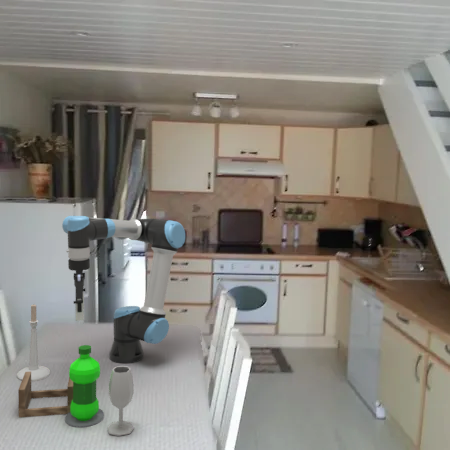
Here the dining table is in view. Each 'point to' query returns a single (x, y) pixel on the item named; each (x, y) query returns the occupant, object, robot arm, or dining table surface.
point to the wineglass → (121, 398)
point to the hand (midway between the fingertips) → (80, 314)
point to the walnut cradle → (27, 394)
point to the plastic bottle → (84, 385)
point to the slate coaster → (77, 423)
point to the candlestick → (34, 354)
